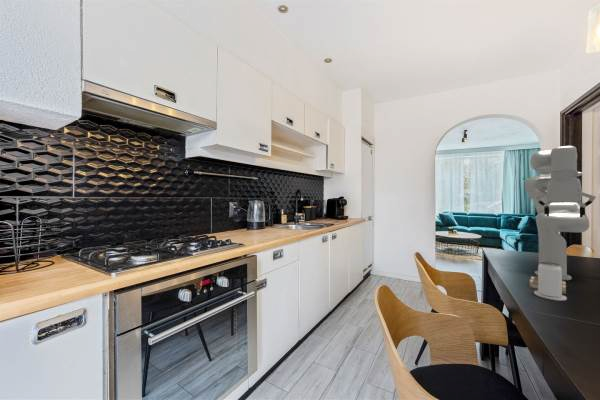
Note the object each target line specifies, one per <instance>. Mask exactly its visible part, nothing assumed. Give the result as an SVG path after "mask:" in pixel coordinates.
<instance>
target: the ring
mask: <svg viewBox="0 0 600 400" xmlns="http://www.w3.org/2000/svg"><path fill="white" fill-rule="evenodd" d="M529 288H531V289H537V290H538V276H532V275H531V277H530V279H529ZM566 293H567V284H566V280H562V295H563V294H564V295H566Z"/></svg>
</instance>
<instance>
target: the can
mask: <svg viewBox="0 0 600 400" xmlns="http://www.w3.org/2000/svg"><path fill="white" fill-rule="evenodd" d="M537 271H538V275H537V277H538V289H537V290H538V292H539V293H540V294H542V295H545V296H550V297H561V296H562V295H563V293H562V281H563V280H562V269H561V267H560V265H559V264H556V263H551V262H540V264H539V263H538V266H537Z"/></svg>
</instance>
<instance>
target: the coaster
mask: <svg viewBox="0 0 600 400" xmlns="http://www.w3.org/2000/svg"><path fill="white" fill-rule="evenodd" d="M533 294H534V295H535V296H537V297H539V298H543V299H546V300H551V301H560V302H565V301H567V300H568V298H567V297H568V296H565V294H564V295H563V294H562V296H561V297H550V296H545V295H542V294H540V293H539V292H538V289H537V290H534V291H533Z"/></svg>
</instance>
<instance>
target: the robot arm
mask: <svg viewBox="0 0 600 400" xmlns="http://www.w3.org/2000/svg"><path fill="white" fill-rule="evenodd" d="M577 151H578V150H577V147H576V146H574V145H563V146H558V147H553V148H552V149H548V150H537V151H535V152H534V153H533V154H532V155H531V157H530V160H529V163H530V167H531V169H532V170H534V171H535V173H537V174H538V175H536V176H530V177H529V178H527V179H526V180H525V183H524V187H525V191H526V194H527V195H528V197H529V198H530V200H531V201H533V203H534V206H535V211H536V213H537V215H536V217H535V223H536V227H537V233H538V234H537V235H538V265H539V264H540V262H551V263H556V264H559V265H560V267H561V269H562V281H570V280H572V276H571V275H569V274H568V273H567V272H568V270H567V268H568V267H567V261H568V260H567V258H568V257H567V255H568V254H567V241H566V239H565V238H564V237H563V236H562V235H561V234H560V233H562V232H563V233H585V232H586V231H588V230H589V228H590V219H589V218H588V215H587V214H586V208H587V207H588V206H589V205H591V204H592V203H594V201H595V200H596V196H595V195H592V194H589V193H586V192H583V189H582V183H581V179H580V178H578V177H580V176H583V172H582V171H581V172H580V171H578V153H577ZM583 197H584V198H588V201H586V202H585V203H584V202H583V201H582V200H583ZM534 274H535V275H536V276H538V270H535V271H534Z"/></svg>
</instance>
